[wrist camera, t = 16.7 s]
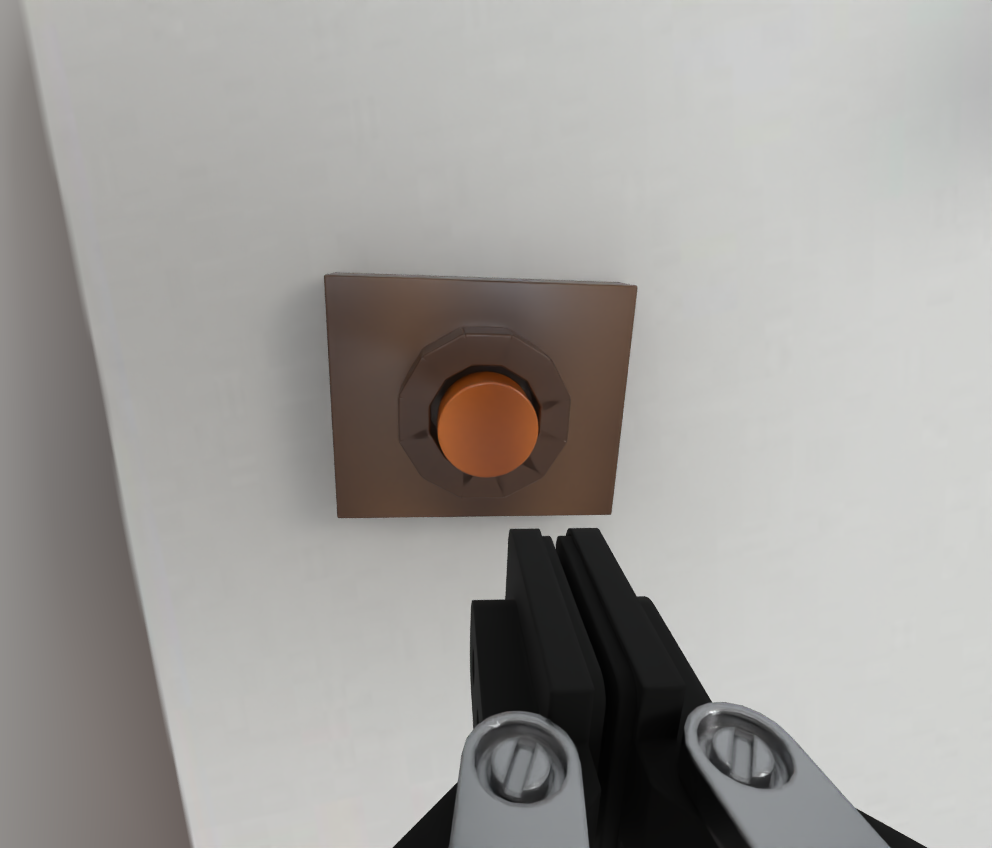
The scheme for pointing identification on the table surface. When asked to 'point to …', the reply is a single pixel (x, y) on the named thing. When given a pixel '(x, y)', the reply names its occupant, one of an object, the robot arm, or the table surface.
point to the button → (486, 424)
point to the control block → (465, 350)
